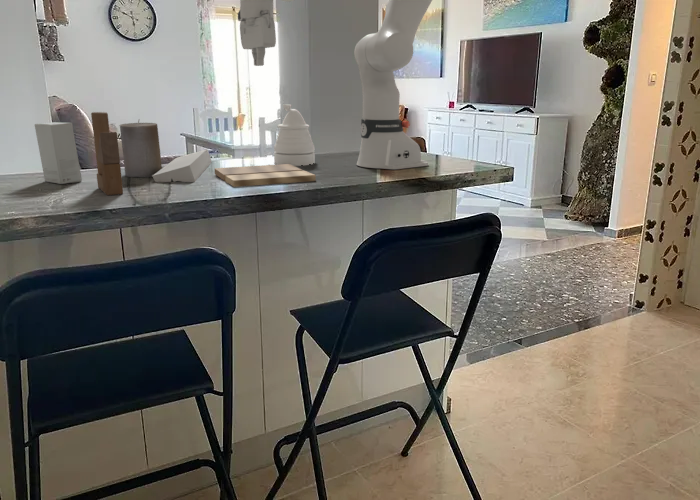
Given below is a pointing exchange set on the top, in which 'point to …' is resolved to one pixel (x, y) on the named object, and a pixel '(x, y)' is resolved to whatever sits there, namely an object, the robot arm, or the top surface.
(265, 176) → the laid oak board
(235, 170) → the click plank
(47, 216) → the top surface
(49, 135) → the skincare box
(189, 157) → the decorative molding
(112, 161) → the wooden block
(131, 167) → the pillar candle
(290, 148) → the honey pot
